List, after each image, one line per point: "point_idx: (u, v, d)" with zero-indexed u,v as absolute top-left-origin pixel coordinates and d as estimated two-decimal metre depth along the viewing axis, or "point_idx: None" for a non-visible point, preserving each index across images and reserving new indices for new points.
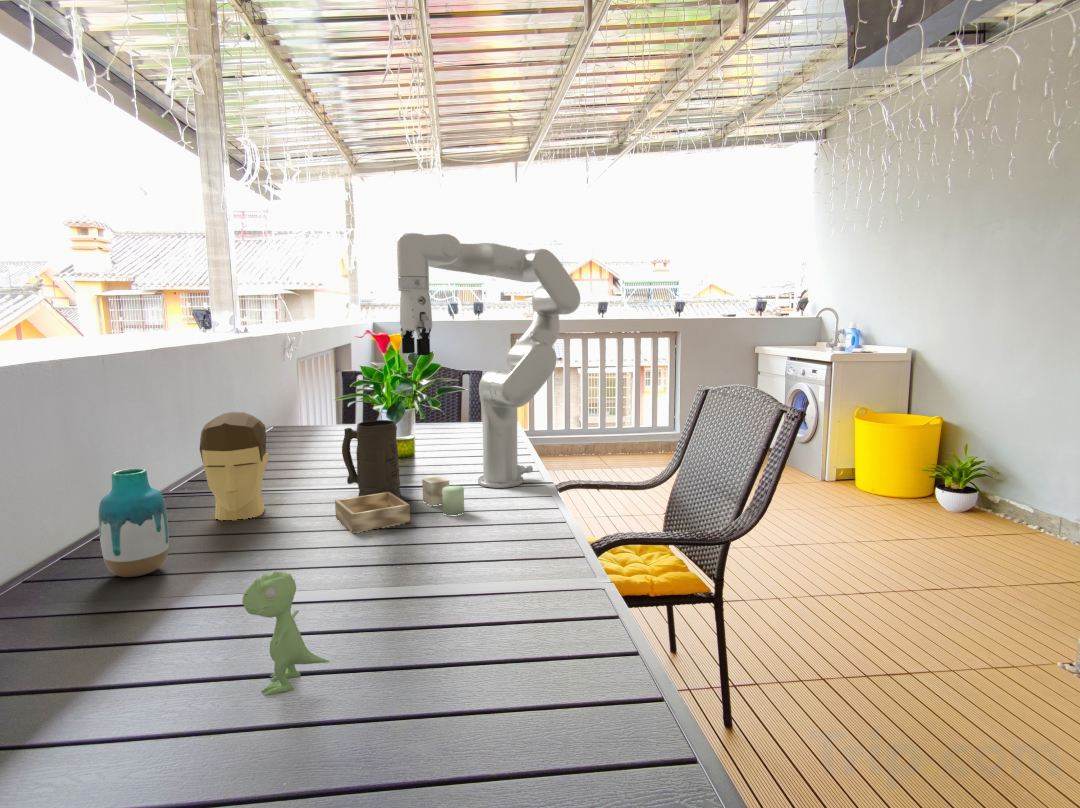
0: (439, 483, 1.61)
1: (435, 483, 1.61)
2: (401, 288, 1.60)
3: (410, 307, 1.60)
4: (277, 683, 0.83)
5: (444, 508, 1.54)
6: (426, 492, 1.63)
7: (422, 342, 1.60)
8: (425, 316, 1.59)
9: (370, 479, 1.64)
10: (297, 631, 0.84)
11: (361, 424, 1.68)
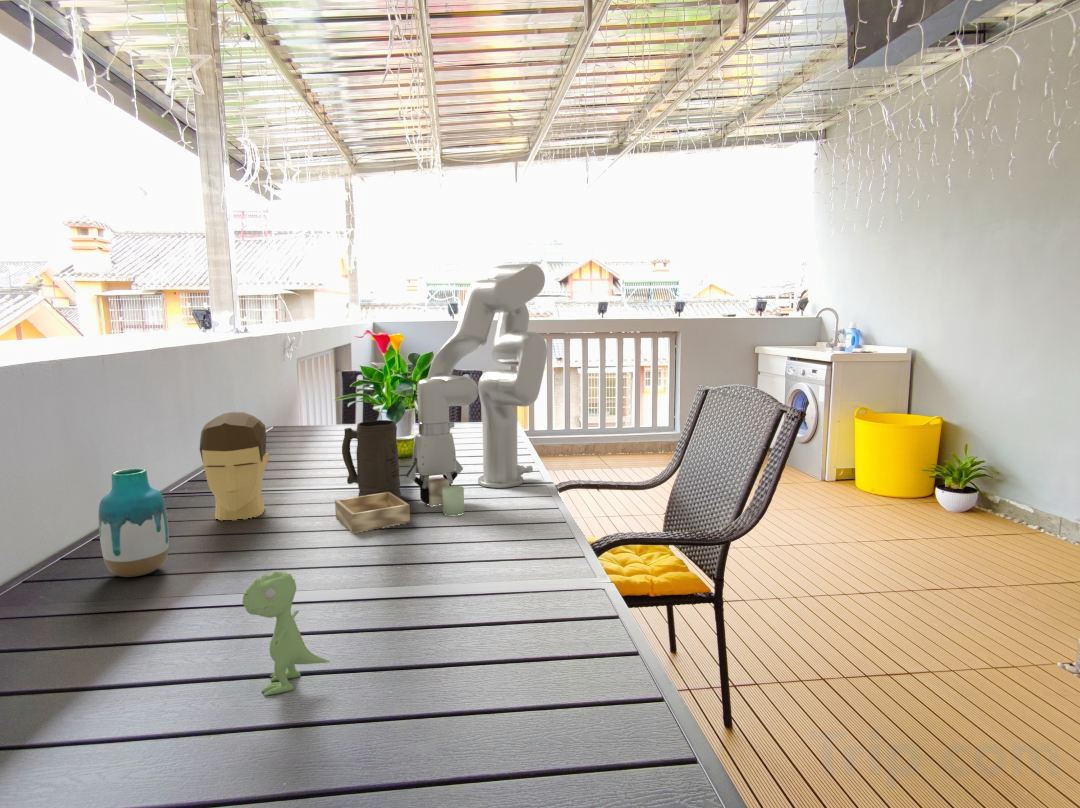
0: (439, 483, 1.61)
1: (435, 483, 1.61)
2: (444, 434, 1.59)
3: (450, 451, 1.62)
4: (277, 683, 0.83)
5: (444, 508, 1.54)
6: None
7: None
8: (456, 461, 1.66)
9: (370, 479, 1.64)
10: (297, 631, 0.84)
11: (361, 424, 1.68)
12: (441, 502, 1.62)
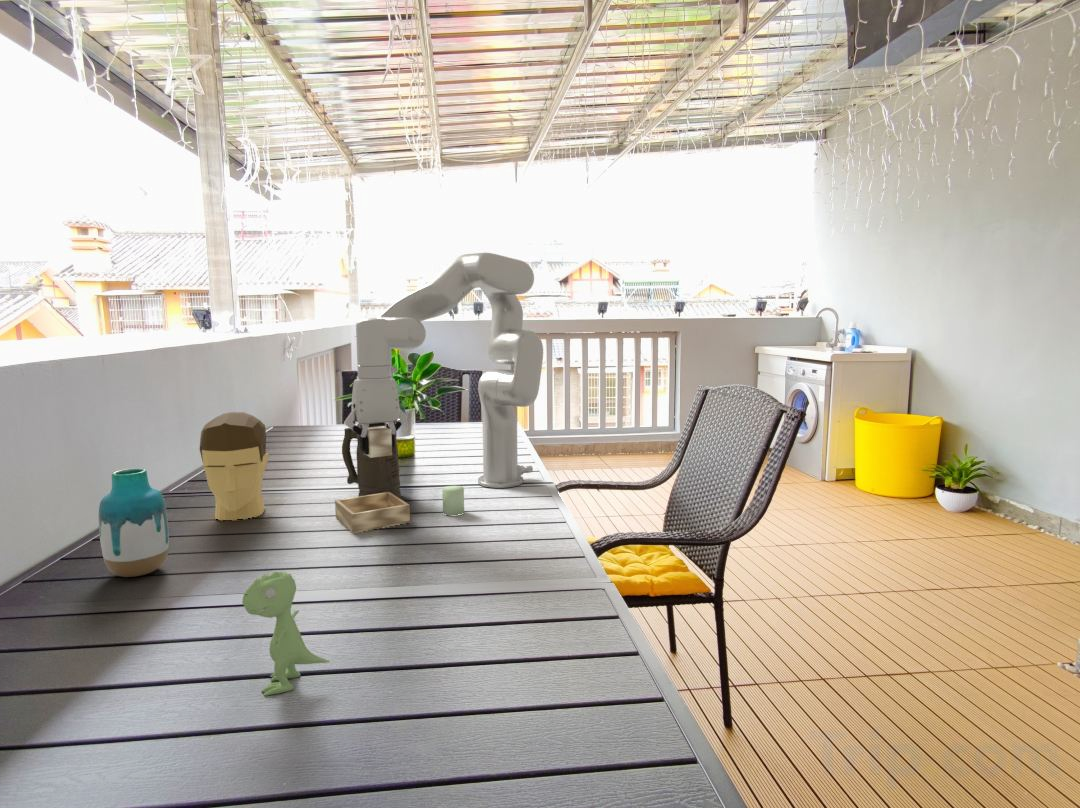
0: (380, 432, 1.48)
1: (375, 431, 1.48)
2: (384, 378, 1.47)
3: (393, 397, 1.50)
4: (277, 683, 0.83)
5: (444, 508, 1.54)
6: None
7: (393, 437, 1.52)
8: (400, 409, 1.53)
9: (370, 479, 1.64)
10: (297, 631, 0.84)
11: None
12: (382, 453, 1.49)
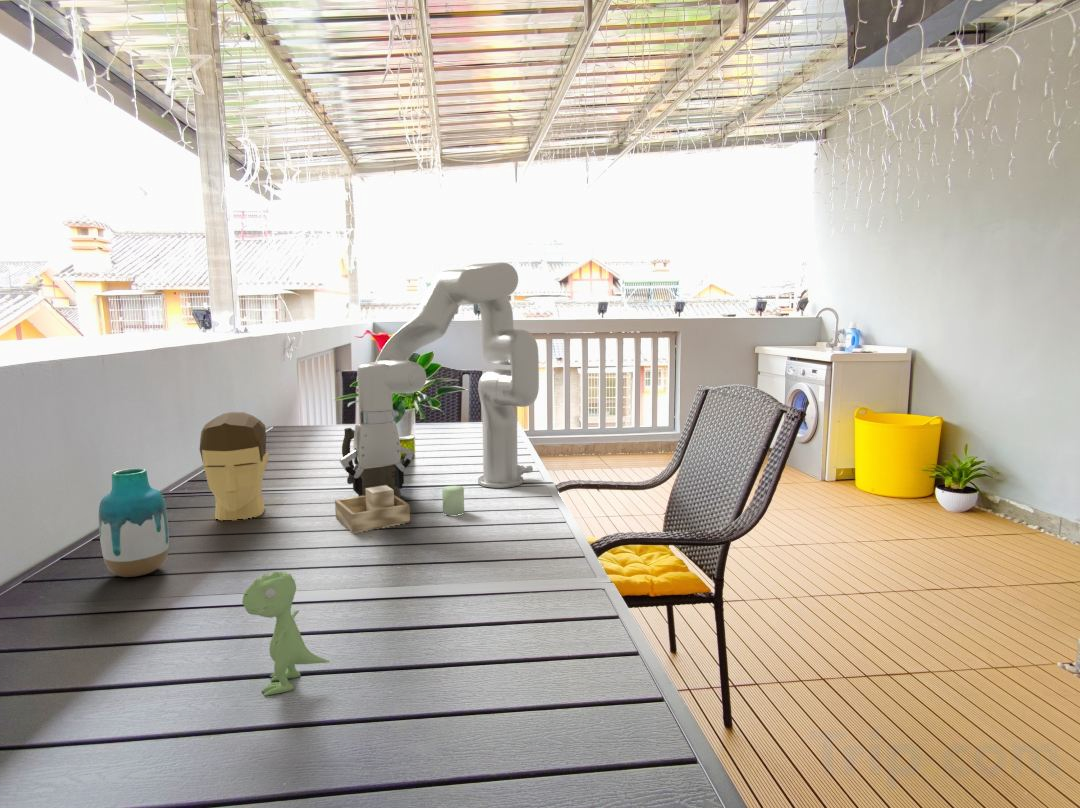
0: (382, 493, 1.50)
1: (378, 493, 1.50)
2: (385, 423, 1.48)
3: (394, 441, 1.51)
4: (277, 683, 0.83)
5: (444, 508, 1.54)
6: (368, 503, 1.52)
7: None
8: None
9: (370, 479, 1.64)
10: (297, 631, 0.84)
11: None
12: None
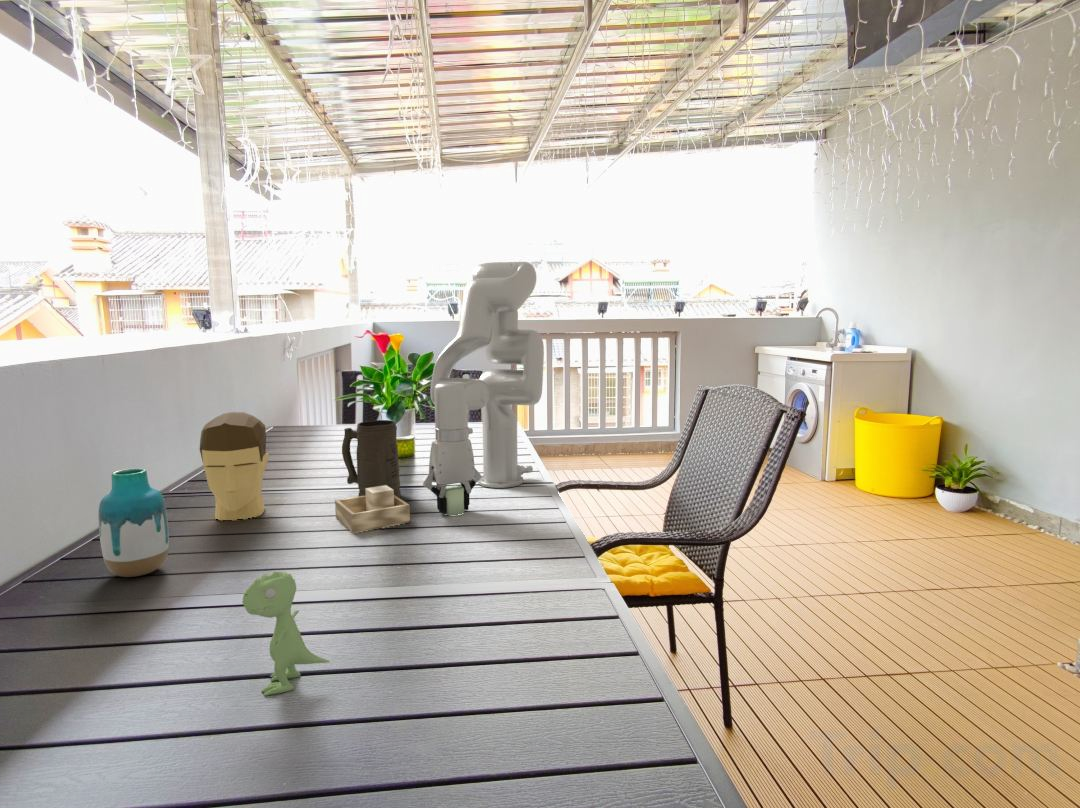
0: (382, 493, 1.50)
1: (378, 493, 1.50)
2: (462, 441, 1.51)
3: (469, 458, 1.54)
4: (277, 683, 0.83)
5: None
6: (368, 503, 1.52)
7: None
8: (474, 468, 1.58)
9: (370, 479, 1.64)
10: (297, 631, 0.84)
11: (361, 424, 1.68)
12: None
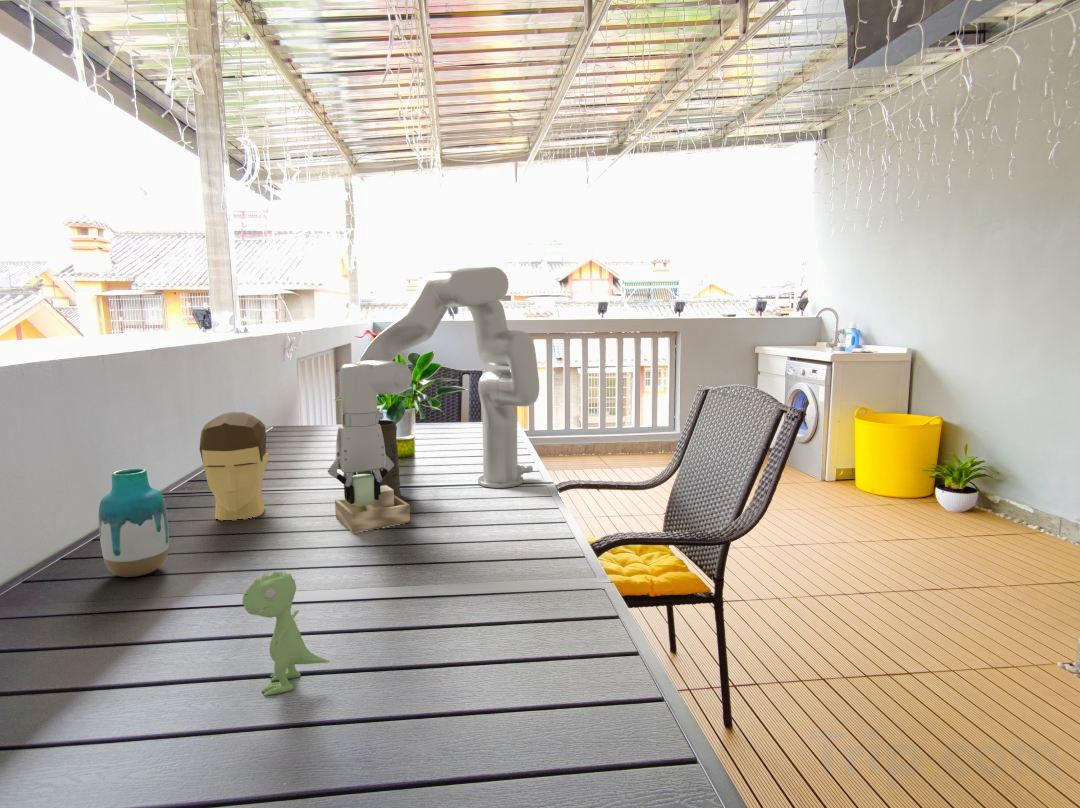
0: (382, 493, 1.50)
1: None
2: (369, 425, 1.42)
3: (378, 444, 1.45)
4: (277, 683, 0.83)
5: None
6: None
7: (379, 485, 1.48)
8: (387, 456, 1.48)
9: None
10: (297, 631, 0.84)
11: None
12: None
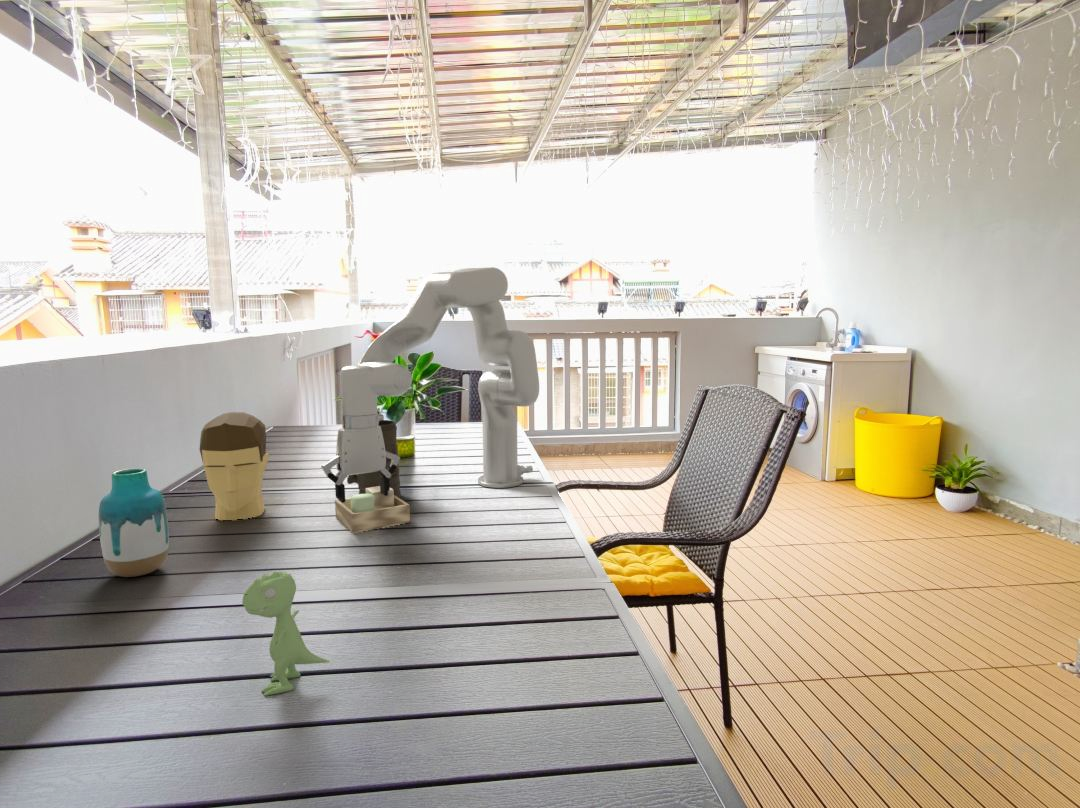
0: None
1: (378, 493, 1.50)
2: (370, 428, 1.42)
3: (379, 446, 1.45)
4: (277, 683, 0.83)
5: None
6: None
7: (388, 480, 1.49)
8: None
9: (370, 479, 1.64)
10: (297, 631, 0.84)
11: None
12: None
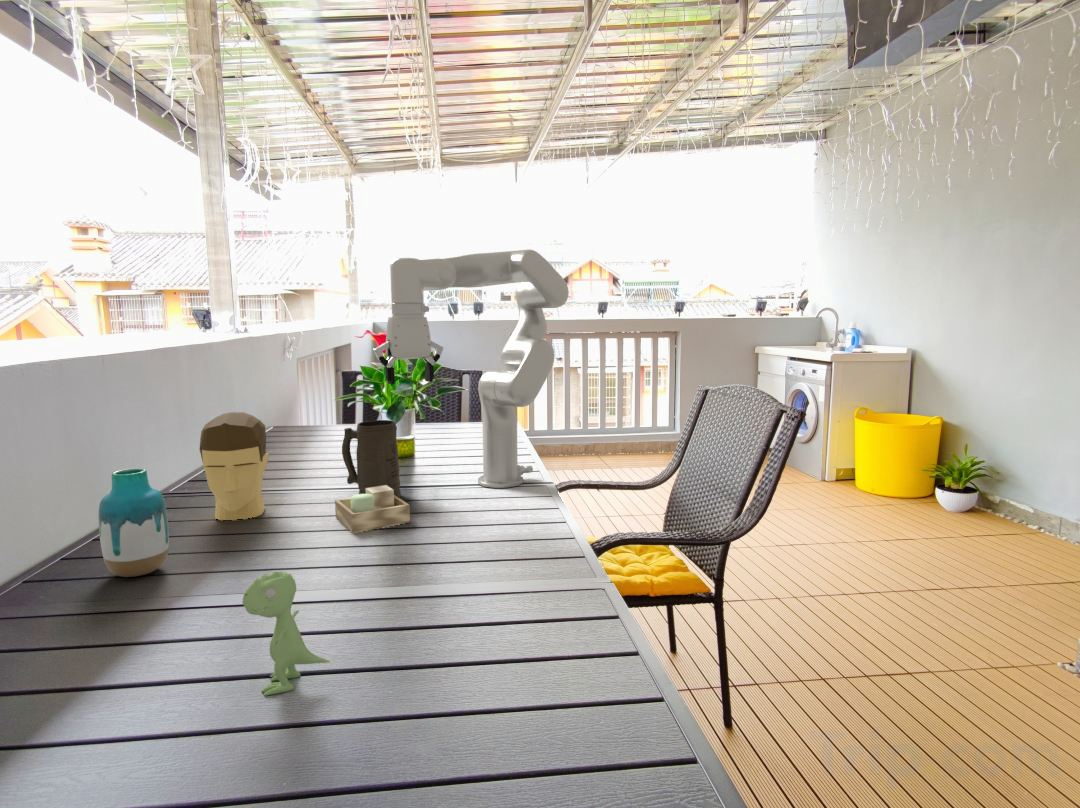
0: (382, 493, 1.51)
1: (378, 493, 1.50)
2: (417, 315, 1.54)
3: (425, 334, 1.57)
4: (277, 683, 0.83)
5: None
6: None
7: None
8: None
9: (370, 479, 1.64)
10: (297, 631, 0.84)
11: (361, 424, 1.68)
12: None
